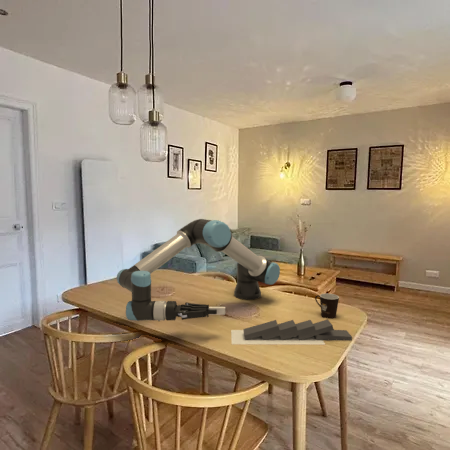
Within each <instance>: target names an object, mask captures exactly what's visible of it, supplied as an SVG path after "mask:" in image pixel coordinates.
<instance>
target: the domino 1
mask: <svg viewBox="0 0 450 450" xmlns="http://www.w3.org/2000/svg"><path fill="white" fill-rule="evenodd" d="M278 324H279V323H278V322H277V319H274V320H271V321H268V322H263V323H259V324H257V325H253V326H250V327H246V328H243V329H242V330H243V331H244V337H245V340H248V339H251V338H255V337H258V336H262V335H266V334H269V333H273V332H276V331H280V330H279V326H278Z"/></svg>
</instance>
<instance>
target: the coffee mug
mask: <svg viewBox="0 0 450 450" xmlns="http://www.w3.org/2000/svg"><path fill="white" fill-rule="evenodd" d="M317 297H318V298H319V302H318V299H317ZM314 300H315V302H316V304H317V305H318V307H320V313H321V314H320V315H321V318H322V319H328V320H329V319H330V320H331V319H336V318H337V312H338V306H339V300H340V296H339V295H337V294H334V293H321V294H319V295H316V296H315V299H314ZM319 303H320V304H319Z"/></svg>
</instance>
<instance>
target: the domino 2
mask: <svg viewBox="0 0 450 450" xmlns="http://www.w3.org/2000/svg"><path fill="white" fill-rule="evenodd" d="M277 324H278V326H279V330H280V331H276V332H273V333H269V334H266V335H262V337H263V340H266V339H269V338H273V337H276V336H280V335H283V334H287V333H291V332H294V331H298V330H297V327H296V324H297V323H295V321H294V319H292V320H291V319H290V320H287V321H285V322H281V323H277Z"/></svg>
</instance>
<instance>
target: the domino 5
mask: <svg viewBox="0 0 450 450" xmlns="http://www.w3.org/2000/svg"><path fill="white" fill-rule="evenodd" d="M314 337H315V339H316V340H323V341H353V336H352V334H351V333H350V332H349V331H348V330H346V329H334V330H332V331H329V332H325V333H322V334H319V335H315V336H314Z"/></svg>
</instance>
